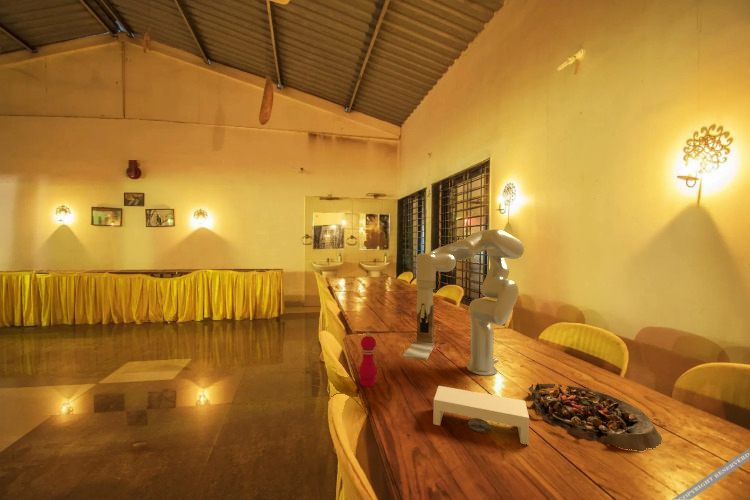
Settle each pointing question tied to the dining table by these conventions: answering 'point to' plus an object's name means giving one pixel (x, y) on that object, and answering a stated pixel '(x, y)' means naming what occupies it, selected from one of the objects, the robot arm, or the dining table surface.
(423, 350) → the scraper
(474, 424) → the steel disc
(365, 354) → the pepper mill
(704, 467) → the dining table surface
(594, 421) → the food dish
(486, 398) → the cream footstool
